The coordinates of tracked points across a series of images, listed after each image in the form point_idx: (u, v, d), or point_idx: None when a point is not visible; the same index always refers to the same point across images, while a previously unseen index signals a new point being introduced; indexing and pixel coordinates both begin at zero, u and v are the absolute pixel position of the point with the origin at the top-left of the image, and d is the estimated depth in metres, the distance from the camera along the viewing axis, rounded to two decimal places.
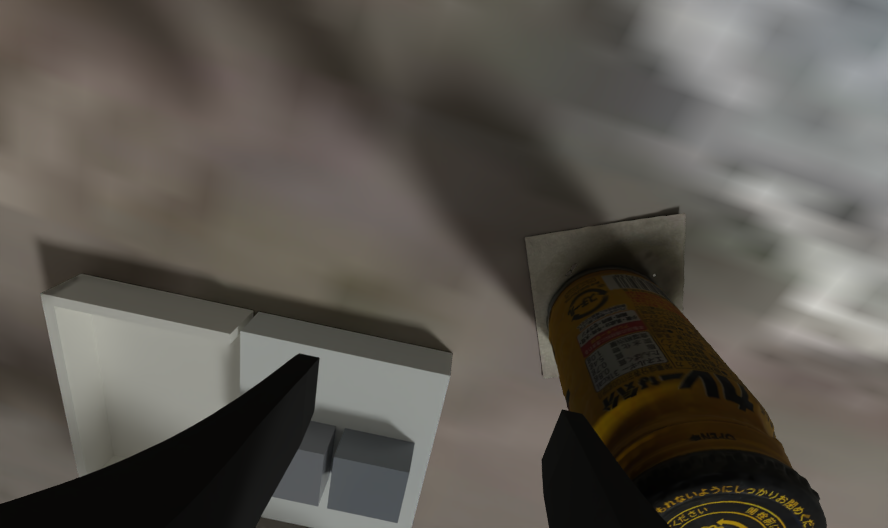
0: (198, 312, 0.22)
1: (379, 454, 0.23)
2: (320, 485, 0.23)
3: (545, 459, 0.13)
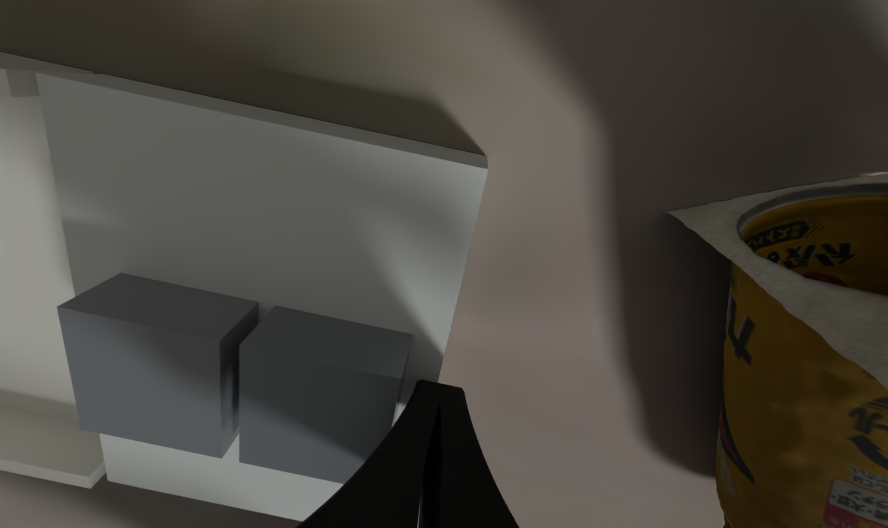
0: None
1: (340, 346, 0.11)
2: (221, 413, 0.11)
3: None
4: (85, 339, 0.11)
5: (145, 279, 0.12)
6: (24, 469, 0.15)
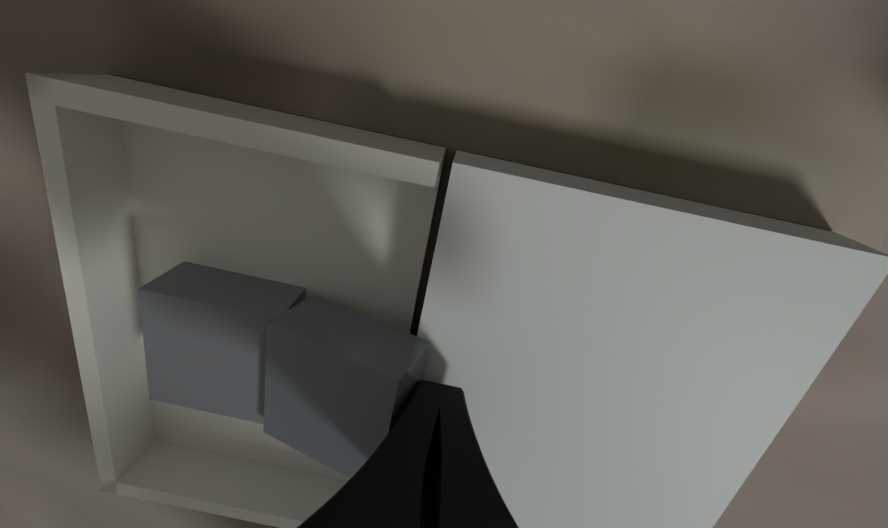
0: (353, 134, 0.11)
1: (354, 339, 0.11)
2: None
3: None
4: (161, 317, 0.12)
5: (206, 267, 0.14)
6: None
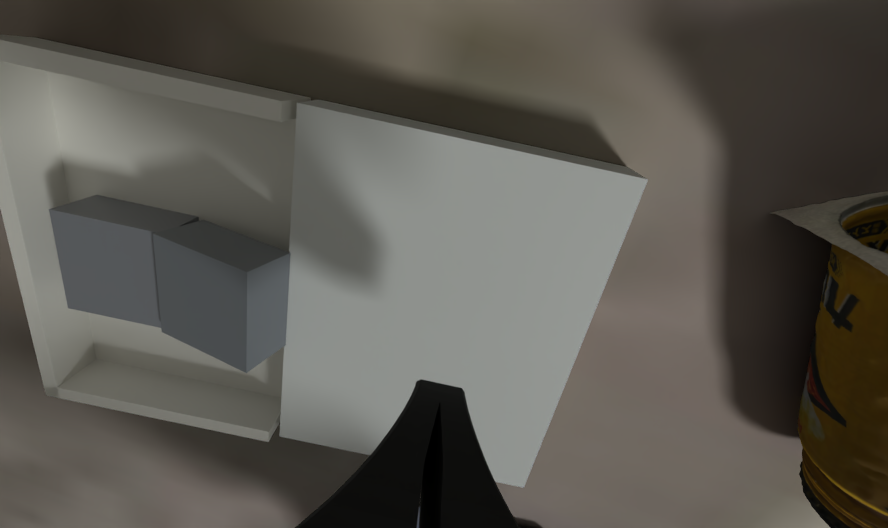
0: (225, 83, 0.14)
1: (223, 247, 0.14)
2: None
3: None
4: (69, 234, 0.15)
5: (114, 199, 0.16)
6: (214, 425, 0.18)
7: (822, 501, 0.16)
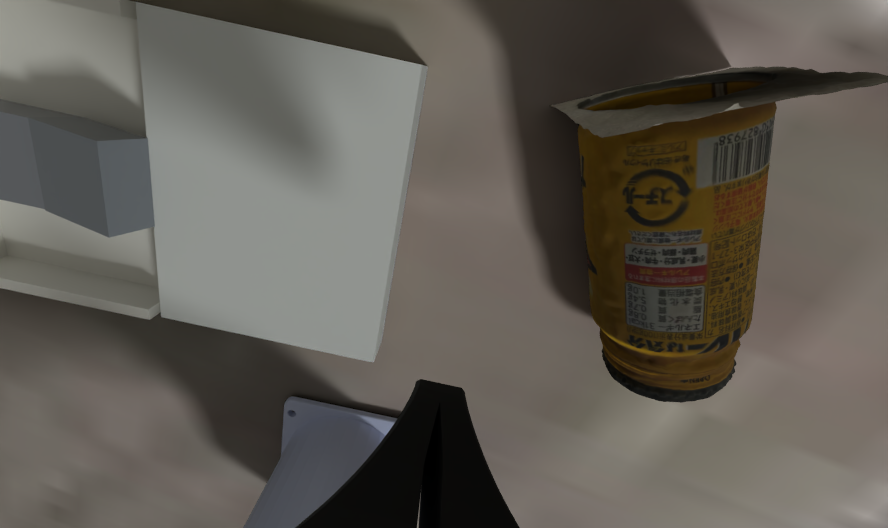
0: None
1: (86, 129, 0.17)
2: None
3: None
4: None
5: (9, 101, 0.19)
6: (102, 304, 0.21)
7: (606, 357, 0.19)
